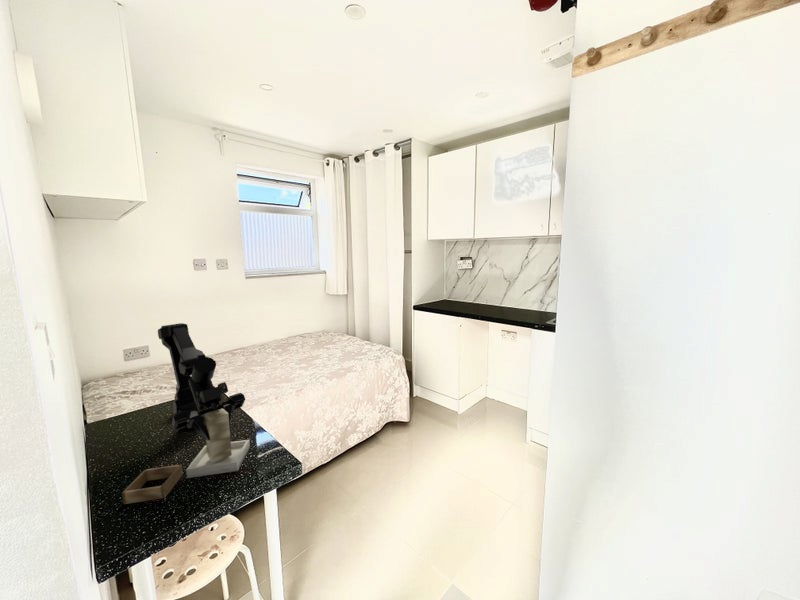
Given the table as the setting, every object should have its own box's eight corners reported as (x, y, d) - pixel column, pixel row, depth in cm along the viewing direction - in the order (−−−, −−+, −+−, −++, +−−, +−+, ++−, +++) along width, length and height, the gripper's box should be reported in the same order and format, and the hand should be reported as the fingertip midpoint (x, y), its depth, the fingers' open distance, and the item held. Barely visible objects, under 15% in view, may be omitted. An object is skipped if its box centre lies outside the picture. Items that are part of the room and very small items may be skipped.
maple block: (226, 448, 97) (222, 408, 96) (231, 455, 93) (228, 413, 92) (207, 456, 93) (203, 414, 92) (212, 463, 90) (209, 419, 89)
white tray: (250, 446, 101) (249, 439, 100) (237, 470, 89) (236, 462, 89) (205, 452, 98) (204, 445, 98) (187, 478, 87) (186, 469, 86)
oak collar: (183, 474, 88) (181, 464, 88) (164, 497, 79) (163, 486, 79) (146, 479, 87) (144, 469, 86) (123, 504, 78) (121, 493, 77)
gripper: (168, 386, 87) (184, 437, 80) (239, 367, 100) (258, 410, 94) (166, 405, 93) (180, 455, 87) (233, 386, 106) (250, 427, 100)
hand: (219, 435), depth 92 cm, fingers closed on maple block, 5 cm apart
